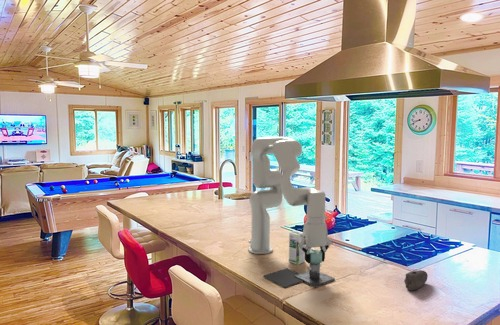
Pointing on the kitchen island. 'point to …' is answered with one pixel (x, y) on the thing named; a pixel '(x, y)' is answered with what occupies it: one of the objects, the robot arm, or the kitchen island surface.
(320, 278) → the dark grey square-based fixture
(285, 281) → the pad
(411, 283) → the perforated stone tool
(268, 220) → the robot arm
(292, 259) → the syrup box
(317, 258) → the cap
